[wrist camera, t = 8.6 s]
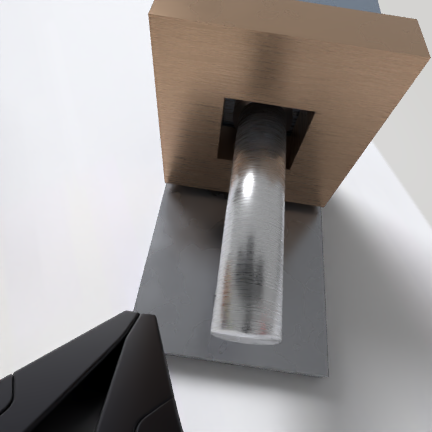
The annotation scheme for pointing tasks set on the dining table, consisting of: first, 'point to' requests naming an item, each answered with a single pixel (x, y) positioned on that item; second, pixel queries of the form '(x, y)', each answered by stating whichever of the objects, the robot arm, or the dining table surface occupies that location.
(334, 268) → the dining table surface
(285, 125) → the stand
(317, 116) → the wooden block on rod
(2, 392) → the robot arm
